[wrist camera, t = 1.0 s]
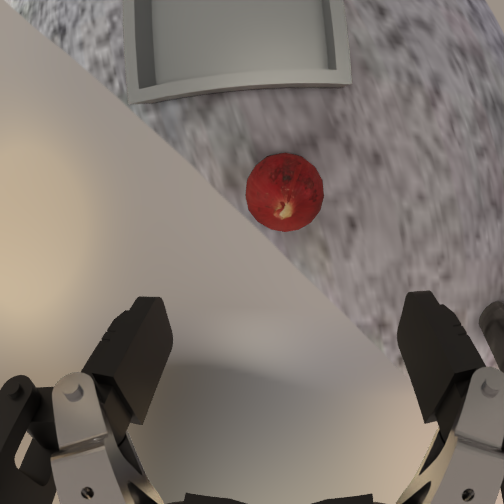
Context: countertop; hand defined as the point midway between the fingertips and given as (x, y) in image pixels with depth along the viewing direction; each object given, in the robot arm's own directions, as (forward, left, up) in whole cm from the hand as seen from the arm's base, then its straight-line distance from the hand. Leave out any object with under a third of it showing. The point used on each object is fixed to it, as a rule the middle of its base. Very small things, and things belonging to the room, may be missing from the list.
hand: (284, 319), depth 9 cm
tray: (+3, -16, -18) cm, 24 cm away
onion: (0, 0, -18) cm, 18 cm away
